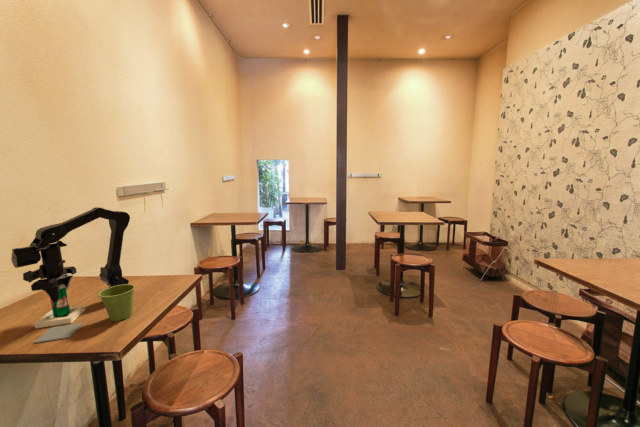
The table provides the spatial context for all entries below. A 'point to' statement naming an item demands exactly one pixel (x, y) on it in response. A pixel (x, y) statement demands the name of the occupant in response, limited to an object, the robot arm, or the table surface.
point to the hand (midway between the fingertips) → (59, 298)
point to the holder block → (49, 321)
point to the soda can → (61, 303)
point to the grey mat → (59, 333)
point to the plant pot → (118, 301)
